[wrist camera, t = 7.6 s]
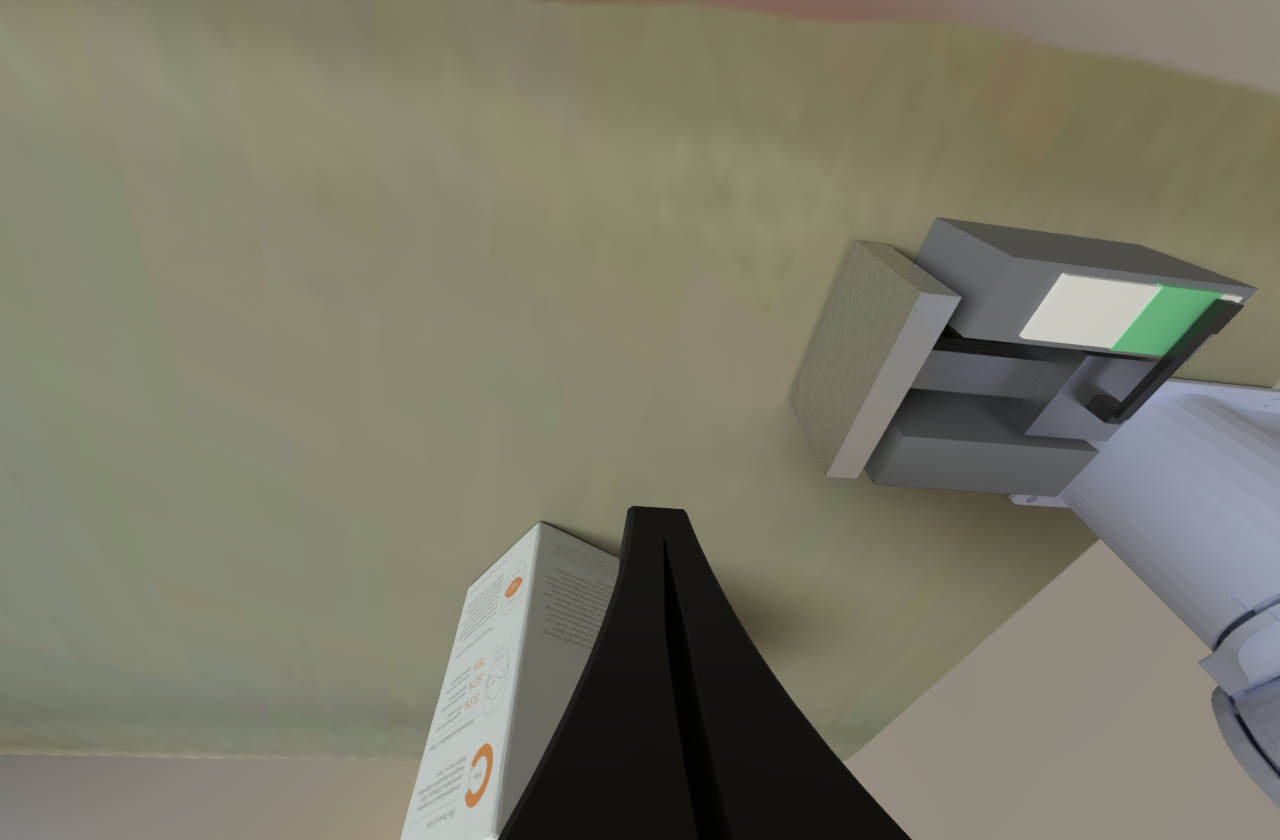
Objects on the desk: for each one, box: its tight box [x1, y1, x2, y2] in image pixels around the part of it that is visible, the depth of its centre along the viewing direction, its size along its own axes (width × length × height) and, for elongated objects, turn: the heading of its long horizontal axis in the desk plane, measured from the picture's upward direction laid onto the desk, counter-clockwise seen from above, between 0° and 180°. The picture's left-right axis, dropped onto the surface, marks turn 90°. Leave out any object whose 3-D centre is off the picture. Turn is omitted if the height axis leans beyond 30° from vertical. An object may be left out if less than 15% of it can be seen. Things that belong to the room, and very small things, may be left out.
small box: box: [400, 522, 619, 840], centre depth 23 cm, size 8×6×13 cm
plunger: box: [790, 240, 1244, 479], centre depth 17 cm, size 11×8×4 cm
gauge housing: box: [864, 218, 1258, 497], centre depth 18 cm, size 8×9×4 cm
